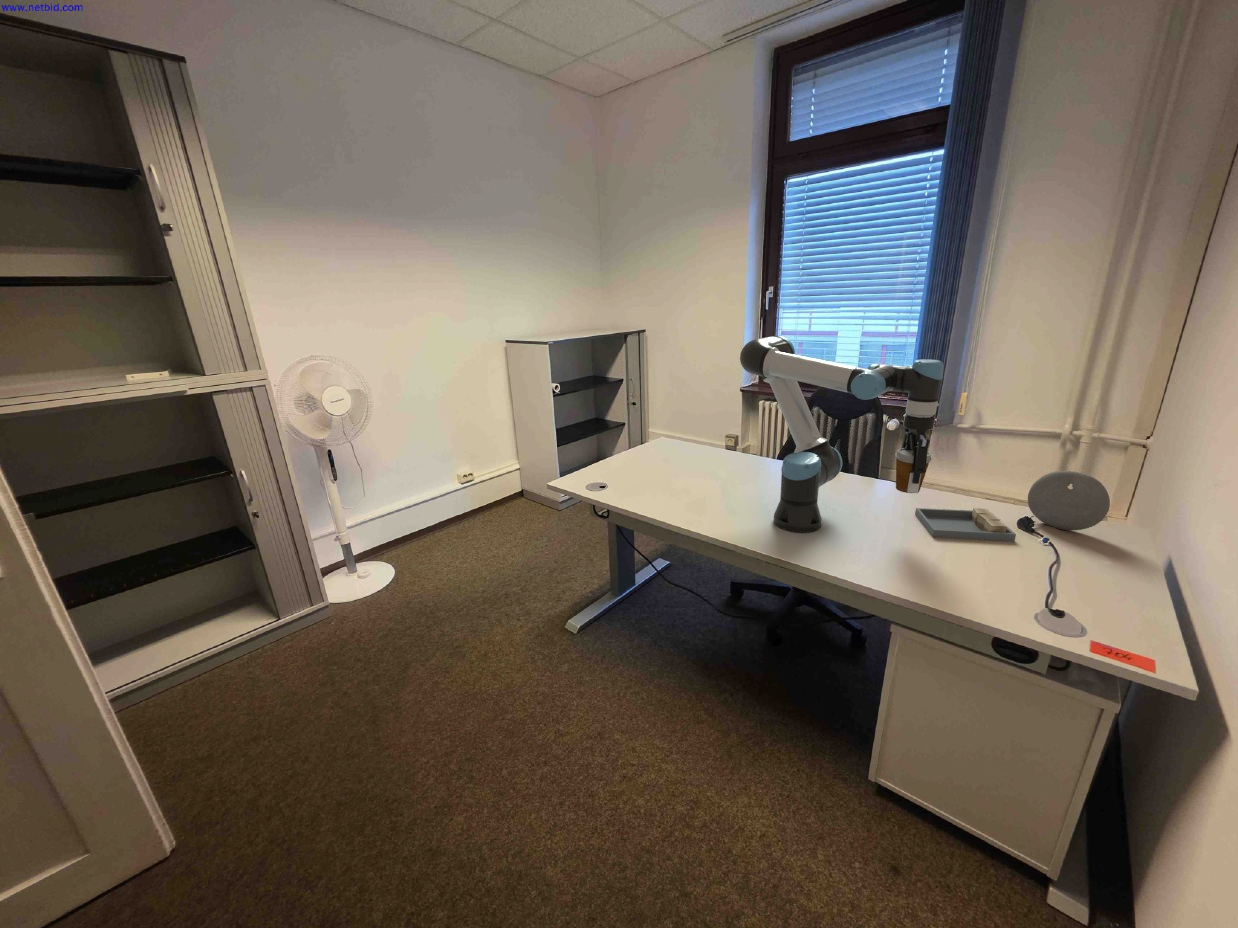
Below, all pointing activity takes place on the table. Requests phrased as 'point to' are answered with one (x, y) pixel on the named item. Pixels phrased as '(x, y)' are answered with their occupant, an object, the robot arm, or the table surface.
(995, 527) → the block
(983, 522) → the block
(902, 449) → the disposable coffee cup
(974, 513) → the block
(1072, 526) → the dark grey disc
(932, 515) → the tray
